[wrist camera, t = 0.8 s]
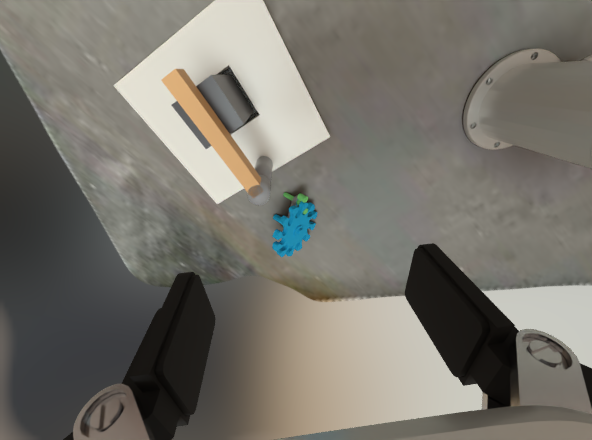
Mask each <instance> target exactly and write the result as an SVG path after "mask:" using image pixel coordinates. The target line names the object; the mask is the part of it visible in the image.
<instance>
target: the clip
mask: <svg viewBox="0 0 592 440" xmlns="http://www.w3.org/2000/svg"><path fill="white" fill-rule="evenodd" d="M161 81H162V82H163V83H164V85H165V86H166V87H167V89H168V90H169V91H170V92H171V94H172V95H173V96H174V98H175V99H176V100H177V101H178V103H179V104H180V105H181V107H182V108H183V109H184V111H185V112H186V113H187V114H188V116H189V117H190V118H191V120H192V121H193V122H194V124H195V125H196V126H197V127H198V129H199V130H200V131H201V133H202V134H203V135H204V137H205V138H206V139H207V140H208V142H209V143H210V144H211V146H212V147H213V148H214V149H215V151H216V152H217V153H218V155H219V156H220V157H221V159H222V160H223V161H224V162H225V164H226V165H227V166H228V168H229V169H230V170H231V172H232V173H233V174H234V175H235V177H236V178H237V179H238V181H239V182H240V183H241V185H242V186H243V187H244V188H245V190H246V191H247V192H248V193H247V196H248V199H249V201H250V202H251V203H253V204H255V205H263V204H265V203H266V202H267V201H268V200H269V197H270V188H271V183H270V180H269V179H268V178H267V177H266V176H264V175H259V174H258V173H257V171H256V170H255V169H254V167H253V166H252V164H251V163H250V162H249V160H248V159H247V157H246V156H245V155H244V153H243V152H242V150H241V149H240V148H239V146H238V145H237V143H236V142H235V140H234V139H233V138H232V136H231V135H230V133H229V132H228V131H227V129H226V128H225V126H224V125H223V124H222V122H221V121H220V119H219V118H218V117H217V115H216V114H215V112H214V111H213V110H212V108H211V107H210V105H209V104H208V103H207V101H206V100H205V98H204V97H203V95H202V94H201V93H200V91H199V90H198V88H197V87H196V86H195V84H194V83H193V81H192V80H191V79H190V77H189V76H188V74H187V73H186V72H185V70H184V69H174V70H173V71H172V72H170V73H169V74H168V75H167V76H165V77H164V78H163V79H162V80H161Z"/></svg>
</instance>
